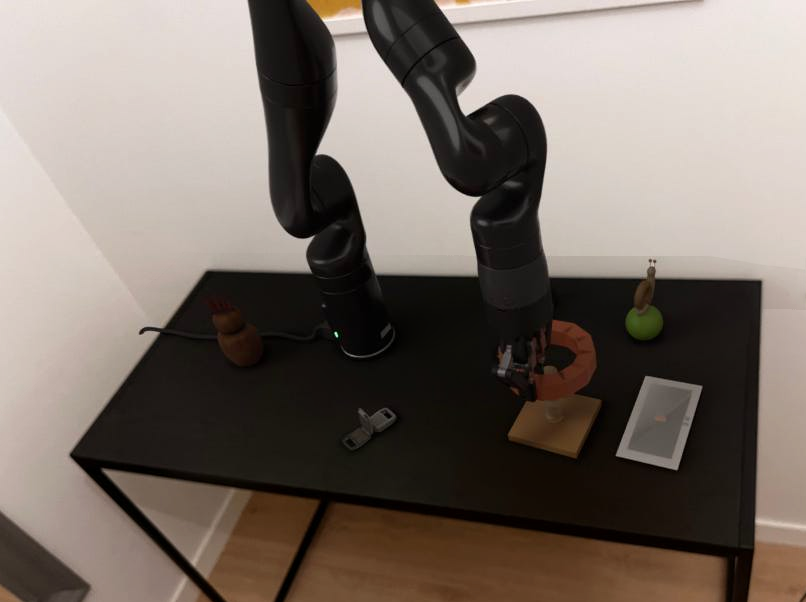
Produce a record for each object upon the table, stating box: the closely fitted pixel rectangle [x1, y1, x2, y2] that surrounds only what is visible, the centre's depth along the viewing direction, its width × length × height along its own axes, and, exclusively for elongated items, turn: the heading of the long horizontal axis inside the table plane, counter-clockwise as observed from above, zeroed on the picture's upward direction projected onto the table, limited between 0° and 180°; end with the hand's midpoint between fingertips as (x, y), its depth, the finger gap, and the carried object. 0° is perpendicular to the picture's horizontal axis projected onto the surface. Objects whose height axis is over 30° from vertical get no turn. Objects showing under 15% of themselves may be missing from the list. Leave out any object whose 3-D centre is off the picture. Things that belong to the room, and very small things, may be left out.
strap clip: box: [341, 407, 397, 451], centre depth 104 cm, size 8×3×4 cm, turn 128°
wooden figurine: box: [201, 293, 264, 367], centre depth 118 cm, size 7×6×15 cm
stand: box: [507, 365, 602, 459], centre depth 96 cm, size 10×10×10 cm
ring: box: [498, 319, 597, 401], centre depth 91 cm, size 12×12×3 cm
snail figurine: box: [625, 258, 664, 341], centre depth 105 cm, size 5×6×12 cm
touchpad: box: [615, 375, 704, 471], centre depth 95 cm, size 8×15×2 cm, turn 154°
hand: (532, 391), depth 89 cm, fingers closed on ring, 2 cm apart
